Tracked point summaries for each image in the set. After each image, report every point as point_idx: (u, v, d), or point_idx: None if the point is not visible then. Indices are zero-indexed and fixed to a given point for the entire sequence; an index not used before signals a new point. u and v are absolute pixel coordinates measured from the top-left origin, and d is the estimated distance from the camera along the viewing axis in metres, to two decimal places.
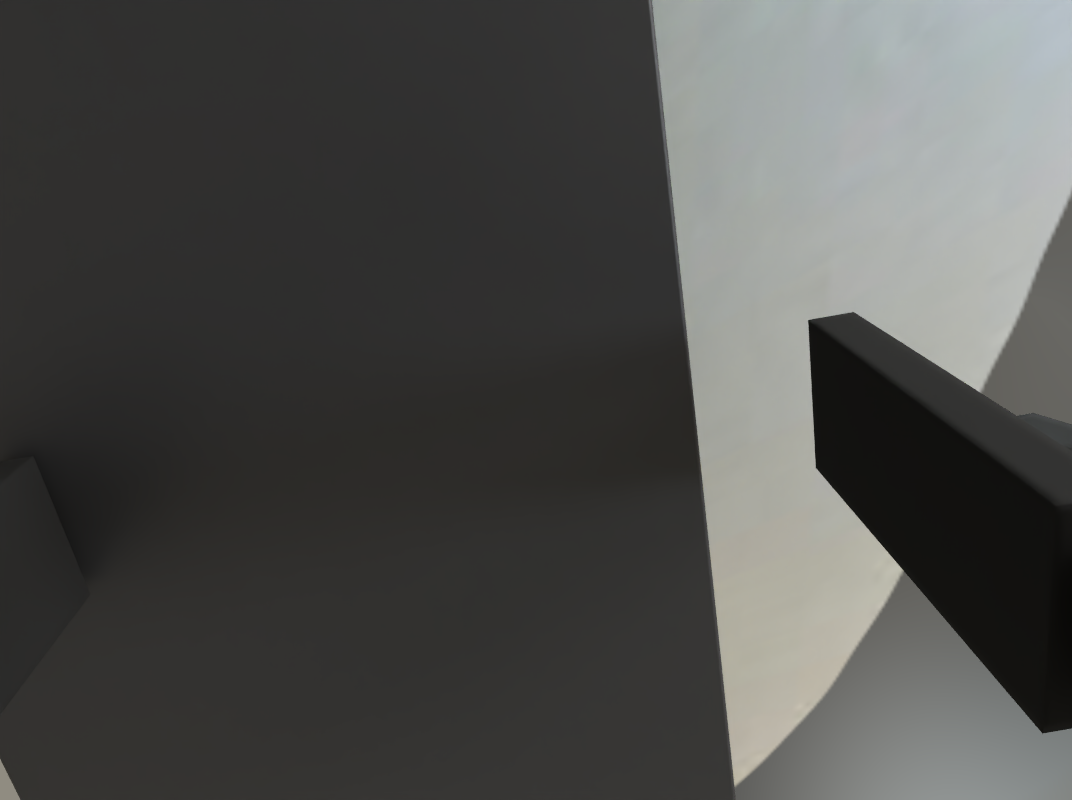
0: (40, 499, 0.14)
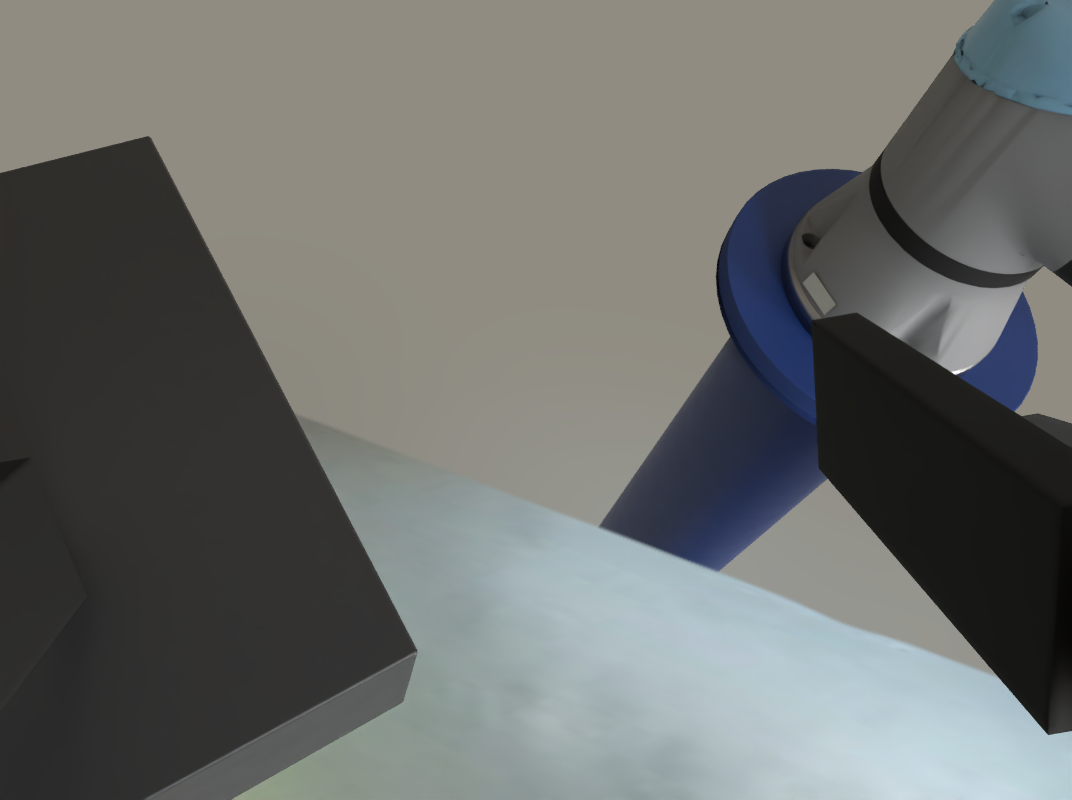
0: (37, 501, 0.14)
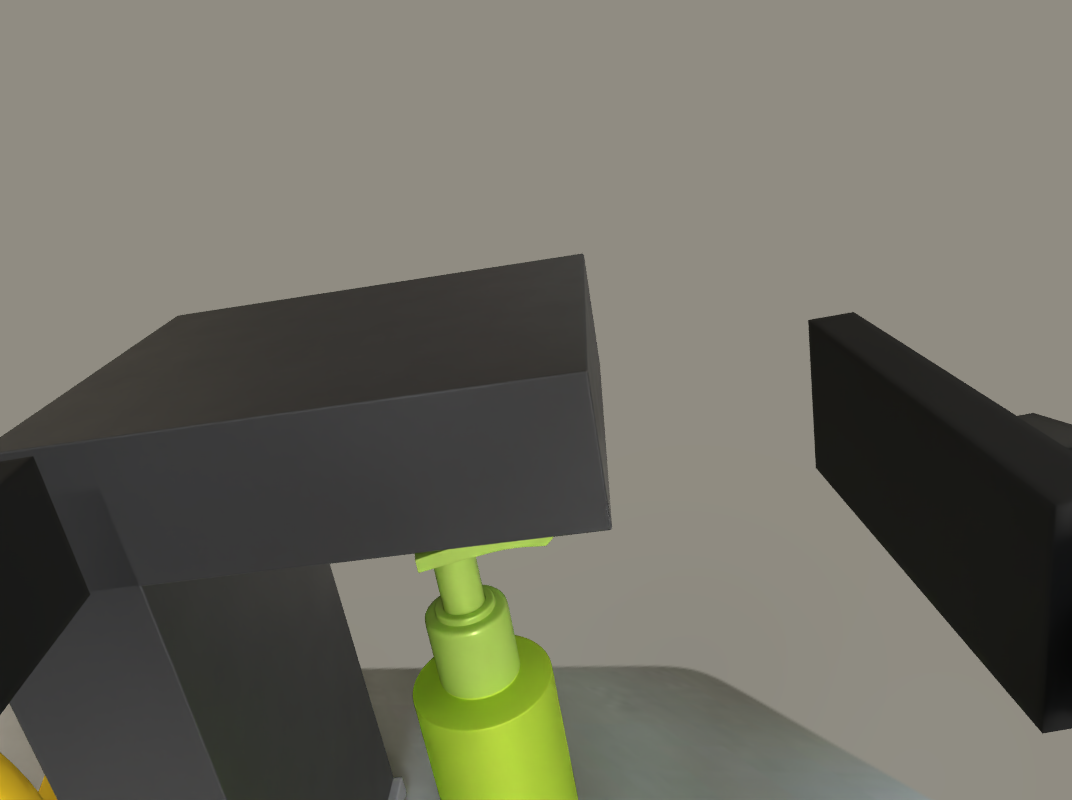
0: (40, 499, 0.14)
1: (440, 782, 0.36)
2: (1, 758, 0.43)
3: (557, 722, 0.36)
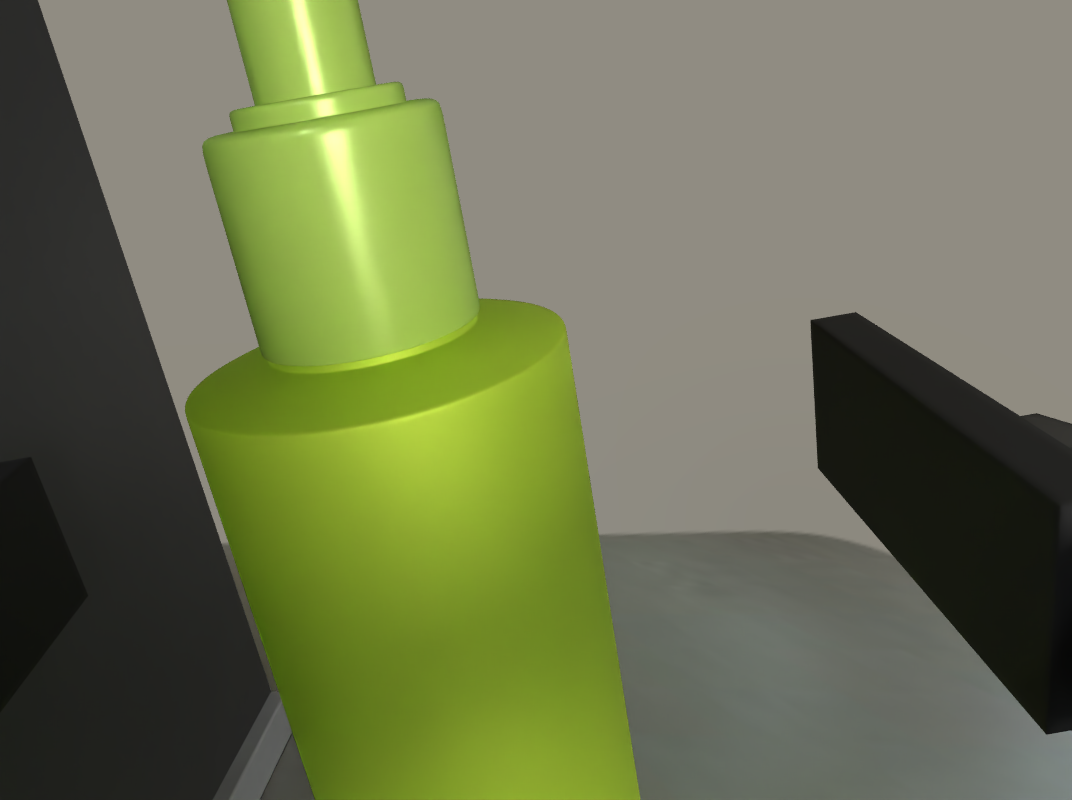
0: (38, 500, 0.14)
1: (259, 625, 0.13)
2: None
3: (577, 473, 0.13)
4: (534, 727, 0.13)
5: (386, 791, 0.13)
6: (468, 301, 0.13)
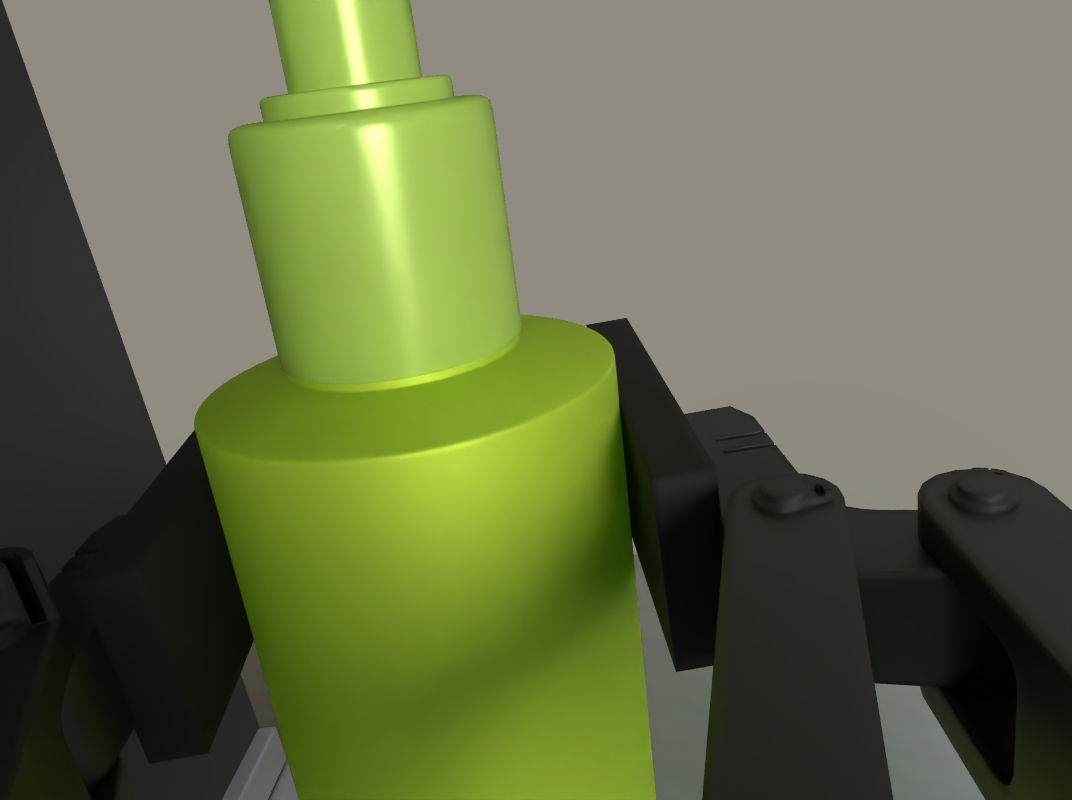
0: None
1: (265, 666, 0.12)
2: None
3: (622, 511, 0.12)
4: (565, 788, 0.12)
5: None
6: (512, 318, 0.12)
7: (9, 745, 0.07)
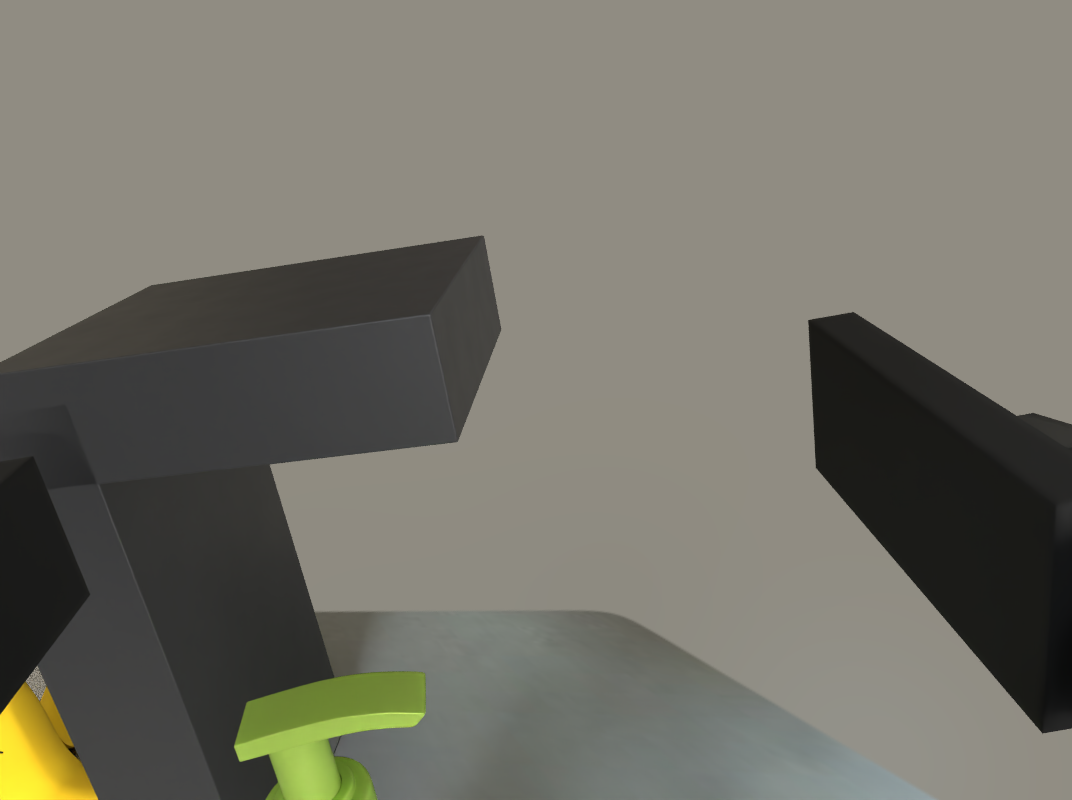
0: (40, 499, 0.14)
1: None
2: None
3: None
4: None
5: None
6: None
7: None
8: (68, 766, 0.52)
